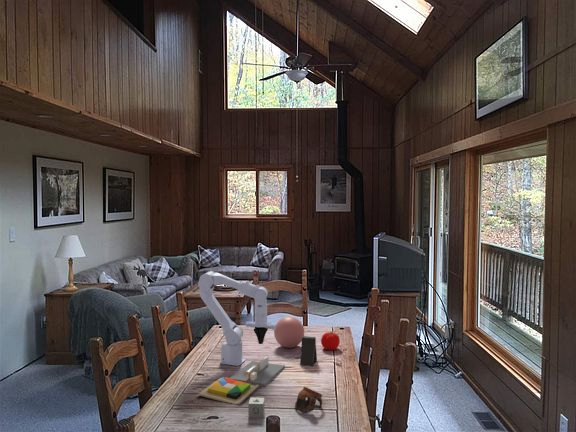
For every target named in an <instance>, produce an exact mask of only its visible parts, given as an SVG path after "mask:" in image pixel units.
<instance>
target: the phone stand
mask: <svg viewBox="0 0 576 432" xmlns="http://www.w3.org/2000/svg"><path fill="white" fill-rule="evenodd" d="M316 340H317V339H316V336H305V335H304V336H303V337H302V341H301V347H300V348H301V350H300V361H299V362H300V363H299V365H300V366H303V367H304V366H305V367H314V366H315V364H316V362H317V360H318V355H317V345H316V343H317V341H316Z"/></svg>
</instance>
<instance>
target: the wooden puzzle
mask: <svg viewBox="0 0 576 432" xmlns="http://www.w3.org/2000/svg"><path fill="white" fill-rule="evenodd" d="M230 378H231V377H226V376H223V377H220V378H218V379H216V380H215V381H214V382H213V383H211V384H209V386H207V387H206V388H204V389H203V390H201V391H200V392H199V393H198V394H197V395H196V397H197V398H199V397H204V398H207V399H211V400H215V401H218V402H223V403H226V402H227V403H226V404H230V403H232V404H231V405H236V404H238V405H240V404H241V403H243V402H244V401H245V400H246V399H247V398H248V397H249V396H250V395H251V394H253V392H255V390H257V389H258V388H259V385H258V384H257V385H253V384H248V383H245V382H241V381H236V380H233V379H230ZM238 405H237V406H238Z"/></svg>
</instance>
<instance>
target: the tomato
mask: <svg viewBox="0 0 576 432" xmlns="http://www.w3.org/2000/svg"><path fill="white" fill-rule="evenodd" d="M340 340H341V338H340V336H339V334H337V333H335V332H332V331H329V332H325V333H324V334H322V336H321V339H320V344H321V346H322V348H324V350H330V351H332V350H336V349H338V347H339V345H340V342H341V341H340Z"/></svg>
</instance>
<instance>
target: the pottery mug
mask: <svg viewBox="0 0 576 432" xmlns="http://www.w3.org/2000/svg"><path fill="white" fill-rule="evenodd" d="M322 397H323V394H321V393H319V391H315V390H313V389H311V388H309V387H307V386H303V389H301V390H300V391H299V392H298V394H297V398H296V401H295V404H294V409H295V410H296V411H298V412H301V413H302V414H305V412H306V411H307V412H310V413H311V412H313V411H314V410H315V409H314V408H315V405H316V403H317V402H319V408H322V407H323V406H322V405H323V399H322Z"/></svg>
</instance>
